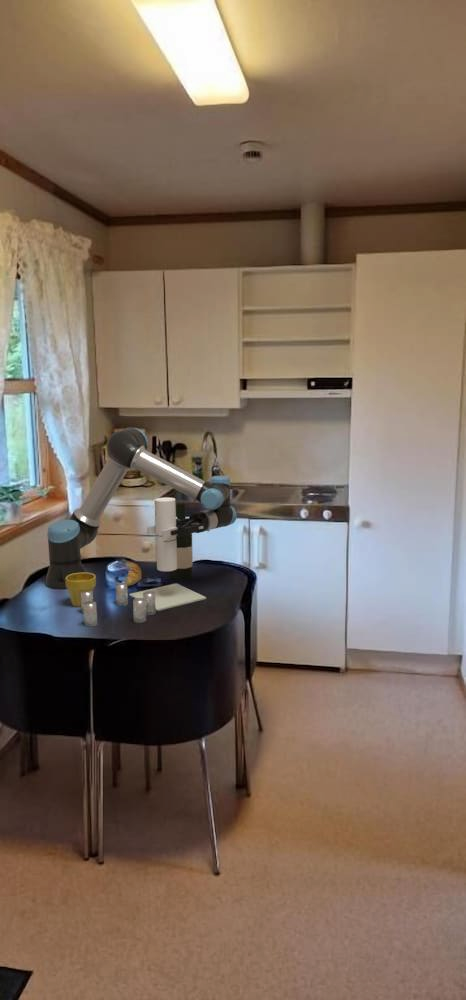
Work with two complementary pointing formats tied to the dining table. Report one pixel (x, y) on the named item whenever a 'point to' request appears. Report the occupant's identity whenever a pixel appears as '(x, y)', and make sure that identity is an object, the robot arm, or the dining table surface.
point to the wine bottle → (183, 549)
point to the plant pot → (79, 585)
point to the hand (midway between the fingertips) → (155, 532)
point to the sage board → (171, 596)
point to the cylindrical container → (168, 546)
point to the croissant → (133, 574)
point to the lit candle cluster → (139, 604)
